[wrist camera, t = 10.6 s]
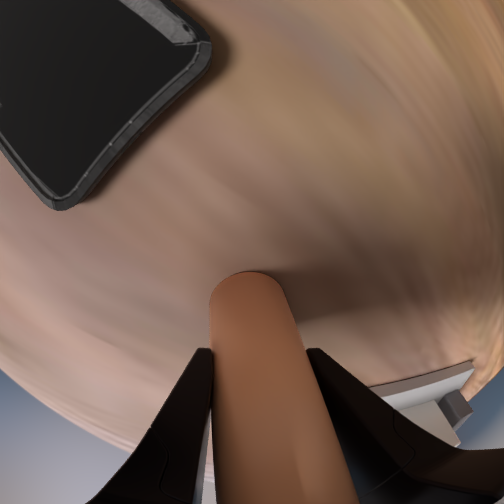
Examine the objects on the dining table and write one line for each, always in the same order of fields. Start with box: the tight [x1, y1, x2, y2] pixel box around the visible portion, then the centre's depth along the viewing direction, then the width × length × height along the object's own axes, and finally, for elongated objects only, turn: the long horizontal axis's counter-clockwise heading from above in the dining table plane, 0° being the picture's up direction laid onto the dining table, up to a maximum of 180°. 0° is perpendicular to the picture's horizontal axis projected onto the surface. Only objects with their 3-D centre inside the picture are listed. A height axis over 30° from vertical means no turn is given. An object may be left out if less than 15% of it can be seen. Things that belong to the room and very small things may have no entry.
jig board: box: [369, 361, 475, 432], centre depth 16 cm, size 20×11×4 cm, turn 83°
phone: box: [0, 0, 212, 211], centre depth 5 cm, size 8×1×15 cm
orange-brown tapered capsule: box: [210, 272, 360, 504], centre depth 7 cm, size 3×3×9 cm
